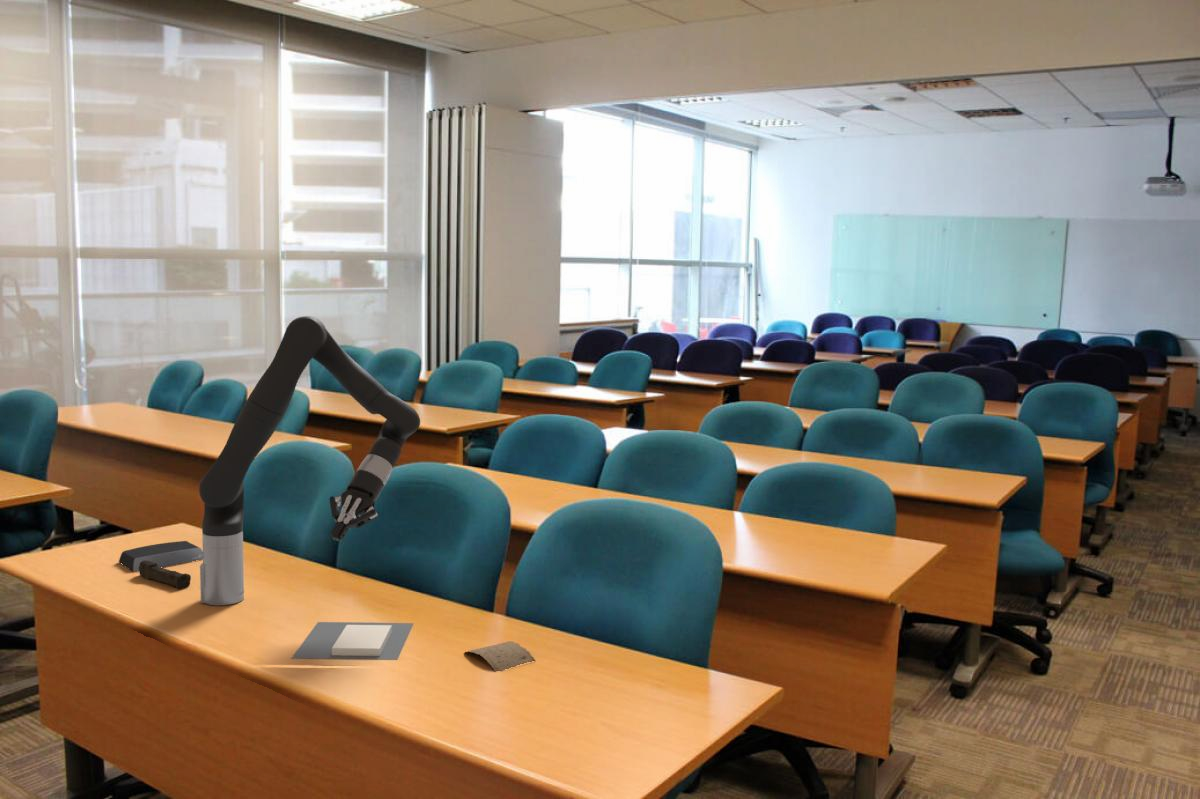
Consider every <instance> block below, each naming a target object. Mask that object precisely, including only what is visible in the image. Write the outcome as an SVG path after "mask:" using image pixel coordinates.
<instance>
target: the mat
mask: <svg viewBox="0 0 1200 799" xmlns="http://www.w3.org/2000/svg"><path fill="white" fill-rule="evenodd" d="M346 625H392V633H391V635H390V637H389V639H388V641H387V643H386V645H385V646H384V648H383V650H382V652H381V654H380V656H345V655H332V647H333V646H334V644H335V642H336V641H337V639H338V638H339V636H340V635H341V633H342V632H343V630H344V629H345V627H346ZM413 626H414V623H413V622H361V621H360V622H357V621H356V622H352V621H349V622H348V621H343V622H342V621H338V622H337V621H318V622H316V624H315V626H314V627H313V628H312V630H311V631H310V632H309V634H307V636H306V637H305V639H304V640H303V641H302V643H301V644H300V646H299V647H298V648H297V650H296V651H295V653H293V655H292V656H291V658H290V659H291V660H354V661H355V660H357V661H358V660H363V661H364V660H365V661H367V660H372V661H376V660H377V661H378V660H380V661H398V659H399V657H400V655H401V653H402V650H403V648H404V646H405V643H406V641H407V640H408V637H409V636H410V633H411V630H412V628H413Z"/></svg>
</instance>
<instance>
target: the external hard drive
mask: <svg viewBox="0 0 1200 799" xmlns="http://www.w3.org/2000/svg"><path fill="white" fill-rule="evenodd" d="M201 559H203V548H202V547H199V546H197V545H195V544H193V543H191V542H189V541H188V540H180V541H178V540H177V541H171V542H170V541H169V542H163V543H155V544H149V545H145V546H140V547H136V548H130V549H128V550H123V551H122V552H121V554H120V557H119V558H118V563H119V562H120V563H122V564H123V565H124V566H123V565H122V564H121V565H122V566H123V567H125V566H126V567H127V569H128V568H129V569H128V570H130V571H131V572H133V573H136V572H135V571H138V572H139V565H140V562H142V561H144V560H145V561H150V562H153V563H157V566H158V567H163V568H166V566H169V567H172V566H171V565H174V566H177V565H176V564H179V565H183V564H182V563H185V564H188V563H187V562H190V563H193V562H192V561H195V562H197V561H196V560H199V561H202V560H201ZM120 563H119V564H120ZM126 567H125V568H126Z"/></svg>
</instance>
